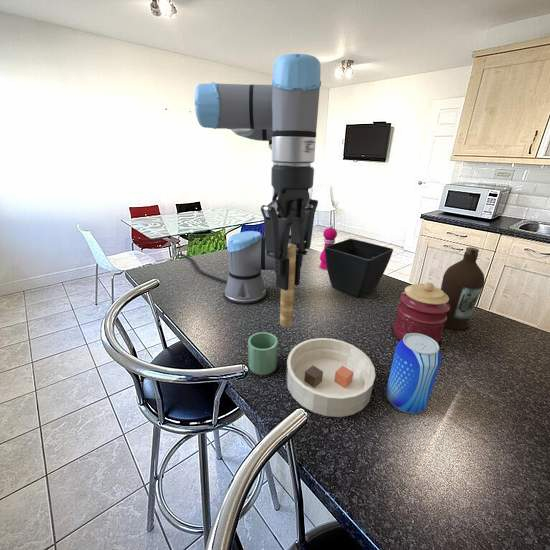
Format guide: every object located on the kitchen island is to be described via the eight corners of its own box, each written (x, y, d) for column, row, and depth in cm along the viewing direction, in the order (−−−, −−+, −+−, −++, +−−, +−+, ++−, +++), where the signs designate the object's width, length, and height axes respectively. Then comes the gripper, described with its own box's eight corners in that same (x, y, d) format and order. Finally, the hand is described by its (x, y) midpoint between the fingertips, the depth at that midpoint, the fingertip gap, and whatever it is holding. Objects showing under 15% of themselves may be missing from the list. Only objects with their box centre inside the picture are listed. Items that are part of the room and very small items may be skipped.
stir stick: (277, 323, 64) (279, 245, 57) (285, 318, 66) (289, 242, 59) (286, 328, 62) (289, 248, 55) (295, 323, 64) (299, 245, 57)
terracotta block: (334, 381, 69) (335, 371, 67) (341, 375, 71) (342, 365, 69) (345, 388, 67) (346, 378, 65) (352, 381, 69) (353, 371, 67)
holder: (242, 366, 74) (241, 340, 71) (263, 353, 79) (263, 328, 75) (262, 381, 69) (262, 354, 66) (282, 366, 74) (283, 341, 71)
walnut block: (304, 381, 69) (304, 371, 67) (312, 374, 70) (312, 365, 69) (314, 388, 67) (315, 378, 65) (322, 381, 69) (323, 371, 67)
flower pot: (346, 274, 129) (350, 237, 122) (386, 288, 116) (394, 248, 109) (319, 287, 116) (323, 246, 109) (362, 304, 104) (369, 260, 97)
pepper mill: (334, 270, 132) (339, 227, 124) (318, 269, 133) (322, 226, 125) (334, 264, 138) (339, 223, 130) (319, 263, 139) (323, 222, 131)
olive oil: (424, 314, 98) (443, 244, 88) (451, 311, 101) (472, 242, 90) (448, 333, 89) (472, 256, 79) (477, 329, 91) (504, 254, 81)
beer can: (378, 388, 68) (391, 331, 62) (413, 386, 69) (429, 329, 62) (395, 418, 60) (411, 357, 54) (433, 416, 61) (454, 355, 55)
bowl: (268, 383, 69) (269, 363, 66) (319, 346, 82) (321, 328, 79) (339, 438, 56) (343, 415, 54) (386, 384, 69) (390, 364, 67)
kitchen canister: (419, 354, 79) (435, 297, 72) (383, 329, 90) (393, 277, 83) (449, 341, 85) (466, 287, 78) (411, 319, 95) (424, 270, 88)
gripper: (275, 166, 44) (272, 304, 53) (336, 164, 54) (325, 280, 63) (244, 164, 48) (246, 290, 58) (305, 162, 59) (299, 270, 68)
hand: (287, 285), depth 60 cm, fingers closed on stir stick, 3 cm apart
